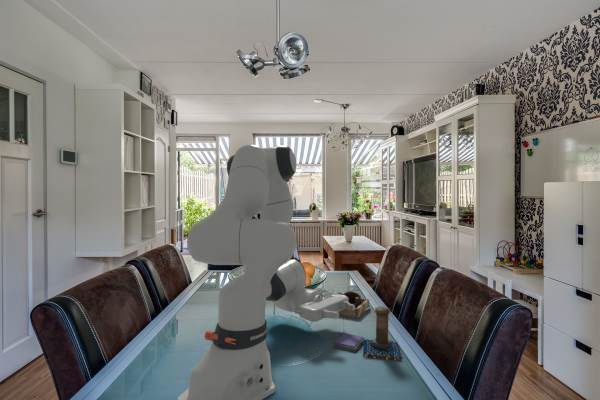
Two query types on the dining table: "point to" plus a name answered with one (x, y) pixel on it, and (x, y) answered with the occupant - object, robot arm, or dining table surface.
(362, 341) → the pad
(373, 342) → the stamp
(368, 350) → the woven mat
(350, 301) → the pottery mug
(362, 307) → the wooden tray
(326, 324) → the dining table surface
